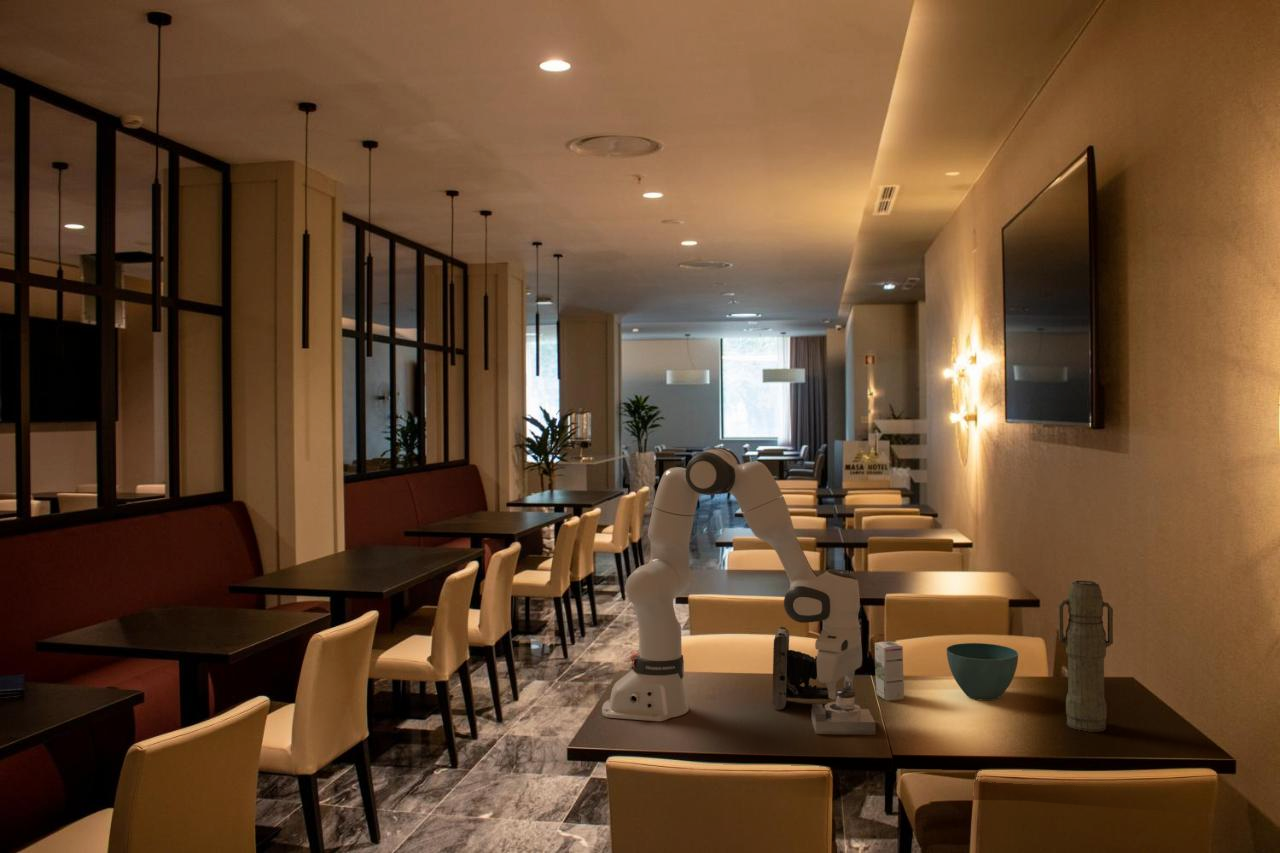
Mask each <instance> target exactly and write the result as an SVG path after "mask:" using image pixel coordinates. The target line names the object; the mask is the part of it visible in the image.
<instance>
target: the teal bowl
mask: <svg viewBox="0 0 1280 853" xmlns="http://www.w3.org/2000/svg"><path fill="white" fill-rule="evenodd" d="M946 657H947V662H948V666H949V669H950V672H951V674H952V676H953V679H954V680H955V682H956V683H957V685H958V687H960V690H962V692H963V693H964V694H965V695H966V696H967V697H968V696H969V697H968V698H970V697H971V698H970V699H973V698H975V699H974V700H978V699H982V700H981V701H995V700H998V699H999V698H1000V697H1001V696H1002V695H1003V694H1004V693H1005V692H1006V691H1007V689H1008V688H1009V687H1010V685H1011V683H1012V681H1013V679H1014V676H1015V674H1016V671H1017V668H1018V667H1017V666H1018V661H1019V652H1018V651H1017V650H1016V649H1014V648H1011V647H1008V646H1005V645H999V644H993V643H986V642H985V643H983V642H982V643H980V642H965V643H956V644H951V645H949V646H948V647H946ZM994 699H995V700H994Z"/></svg>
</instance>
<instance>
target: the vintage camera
mask: <svg viewBox="0 0 1280 853" xmlns="http://www.w3.org/2000/svg"><path fill="white" fill-rule="evenodd" d="M772 650H773V651H772V652H773V654H772V656H773V658H772V691H771V692H772V700H771V701H772V702H771V703H772V706H773V708H774V709H775V710H778V711H781V710H783V709H785V707H786V705H787V699H800V700H833V699H830V698H829V697H828V689H827V686H825V687H824V686H823V687H822V686H817V685H816V684H815V685H813V686H812V685H811V684H810V679H811V680H814V681H816V680H817V679H818V677H817V655H816V656H815V657H814V656H812V655H810V654H806V653H804V652H802V651H799V650H797V651H796V650H794V649H793V650H792V649H790V632H789V629H787V627H785V626H780V627H779V628H778V629H777V630H776V632H775V635H774V639H773V649H772ZM818 651H819V650H818V649H817V652H818ZM802 684H804V685H802ZM828 703H829V702H827V703H826V704H828Z"/></svg>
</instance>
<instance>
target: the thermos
mask: <svg viewBox="0 0 1280 853" xmlns="http://www.w3.org/2000/svg"><path fill="white" fill-rule="evenodd" d="M1102 594H1103V592H1102V588H1101V586H1100V584H1099V583H1097V582H1095V581H1092V580H1075V581H1074V582H1072V583H1071V585H1070V587H1069V590H1068V594H1067V596H1068V598H1066V599H1062V601H1060V603H1059V604H1058V638H1059V642H1060V643H1061V644H1064V645H1065V653H1066V654H1067V678H1068V679H1067V682H1068V683H1067V684H1068V685H1067V686H1068V687H1067V688H1068V689H1067V690H1068V691H1067V694H1066V696H1065V697H1066V698H1065V714H1066V725H1067V726H1068V727H1069V728H1071V729H1073V728H1074V730H1076V729H1078V730H1077V731H1080V730H1083V731H1082V732H1087V731H1088V733H1096V732H1097V733H1099V732H1100V733H1101V732H1104V731H1105V730H1106V729H1107V724H1106V722H1107V717H1108V715H1107V712H1108V709H1107V707H1108V705H1107V701H1106V699H1105V658H1106V655H1107V648H1108V647H1110V646H1111V645H1112V644H1114V636H1113V635H1114V632H1113V631H1114V629H1113V628H1114V626H1113V625H1114V622H1113V621H1114V620H1113V619H1114V609H1113V607H1112V606H1111V605H1110V604H1109V603H1108V602H1105V601H1104V597H1103V595H1102ZM1065 605H1066V606H1068V609H1067V610H1068V617H1069V618H1068V620H1067V621H1068V622H1067V623H1068V624H1067V627H1066V629H1065V636H1064V607H1065ZM1105 607H1106V609H1107V633H1106V631H1105V627H1104V621H1103V616H1104V608H1105Z"/></svg>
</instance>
